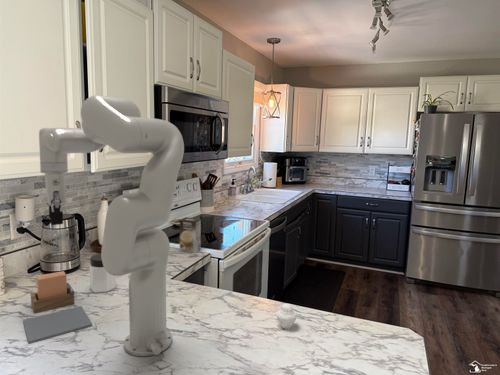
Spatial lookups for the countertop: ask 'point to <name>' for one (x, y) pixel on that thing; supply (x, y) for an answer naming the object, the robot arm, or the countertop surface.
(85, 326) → the mat
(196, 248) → the coffee box
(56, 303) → the dispenser
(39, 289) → the orange block
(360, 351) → the countertop surface
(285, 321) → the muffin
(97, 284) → the jar
